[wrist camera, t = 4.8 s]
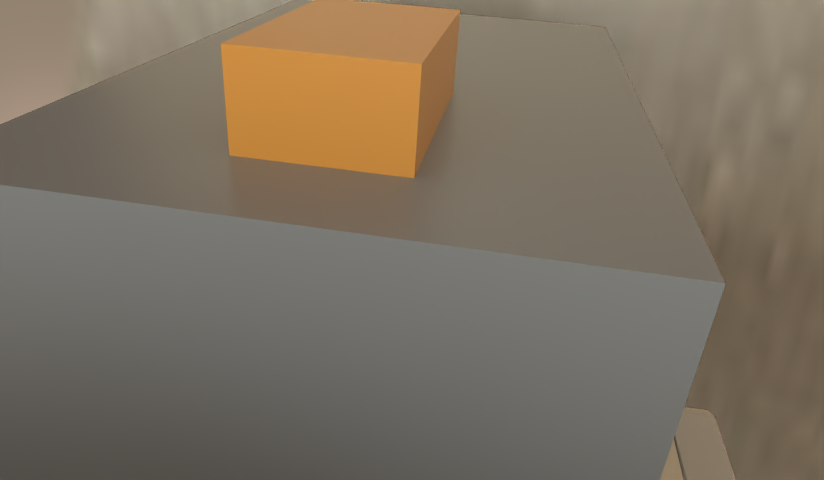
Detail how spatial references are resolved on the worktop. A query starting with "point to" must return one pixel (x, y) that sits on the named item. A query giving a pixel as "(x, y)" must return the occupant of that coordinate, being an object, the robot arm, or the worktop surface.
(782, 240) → the worktop surface
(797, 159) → the worktop surface
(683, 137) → the worktop surface
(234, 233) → the module
